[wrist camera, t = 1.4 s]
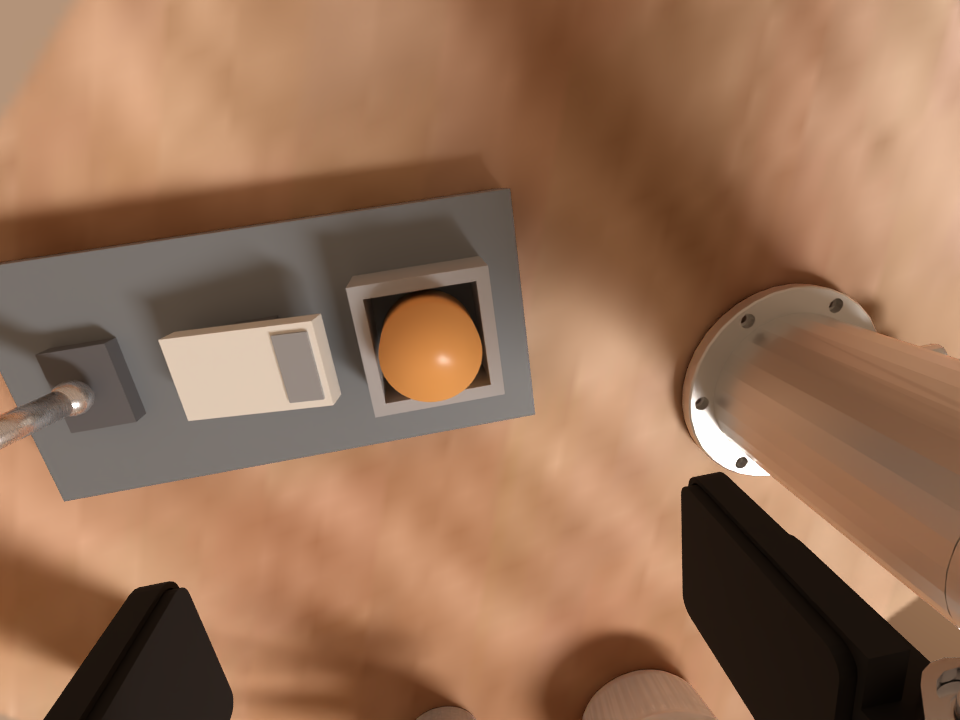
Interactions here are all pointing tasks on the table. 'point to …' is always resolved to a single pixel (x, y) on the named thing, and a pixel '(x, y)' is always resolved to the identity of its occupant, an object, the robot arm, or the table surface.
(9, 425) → the toggle lever
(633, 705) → the ramekin
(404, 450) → the table surface
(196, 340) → the rocker switch
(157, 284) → the control panel
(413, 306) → the push button
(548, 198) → the table surface
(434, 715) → the house plant
